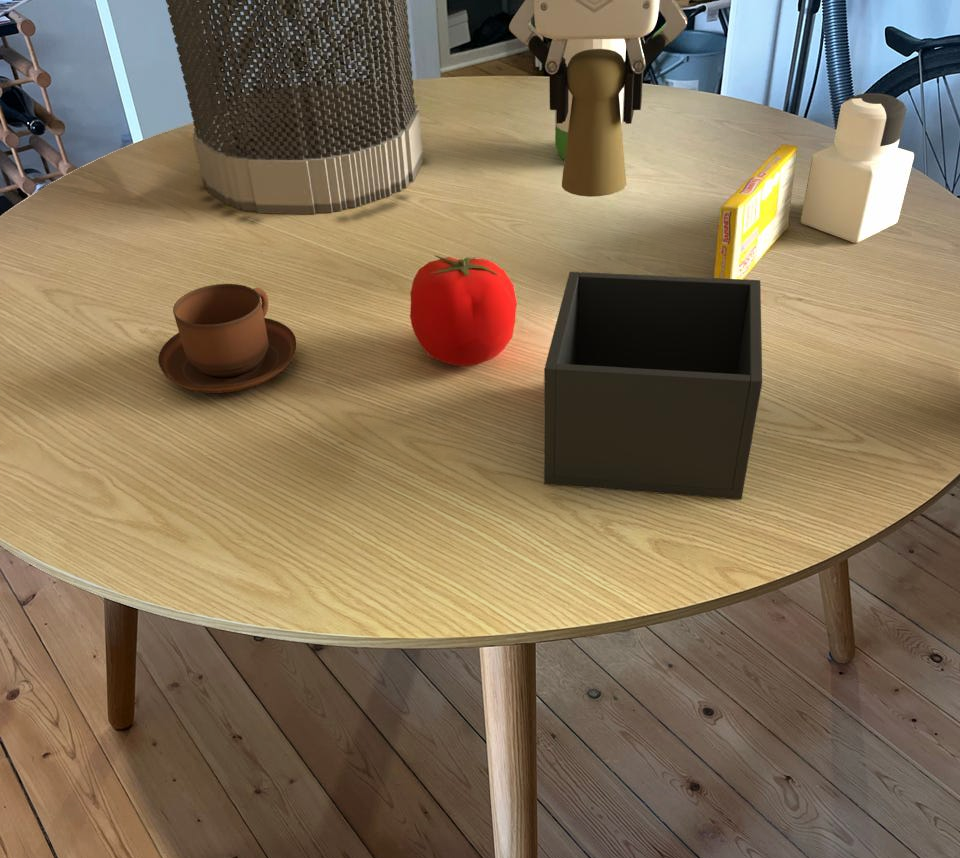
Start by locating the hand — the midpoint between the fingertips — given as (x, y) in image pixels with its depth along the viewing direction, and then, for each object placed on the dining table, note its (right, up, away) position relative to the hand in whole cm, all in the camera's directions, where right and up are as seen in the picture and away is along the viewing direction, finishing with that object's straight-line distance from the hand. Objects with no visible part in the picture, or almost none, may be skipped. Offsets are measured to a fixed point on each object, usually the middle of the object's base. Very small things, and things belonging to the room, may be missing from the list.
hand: (595, 116), depth 91 cm
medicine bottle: (+28, -3, +16) cm, 32 cm away
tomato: (-12, -21, 0) cm, 24 cm away
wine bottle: (+3, +11, +32) cm, 34 cm away
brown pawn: (0, -4, +4) cm, 6 cm away
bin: (+3, -30, -10) cm, 32 cm away
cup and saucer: (-32, -23, 0) cm, 39 cm away
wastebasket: (-30, +10, +32) cm, 45 cm away
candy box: (+17, -9, +11) cm, 22 cm away
